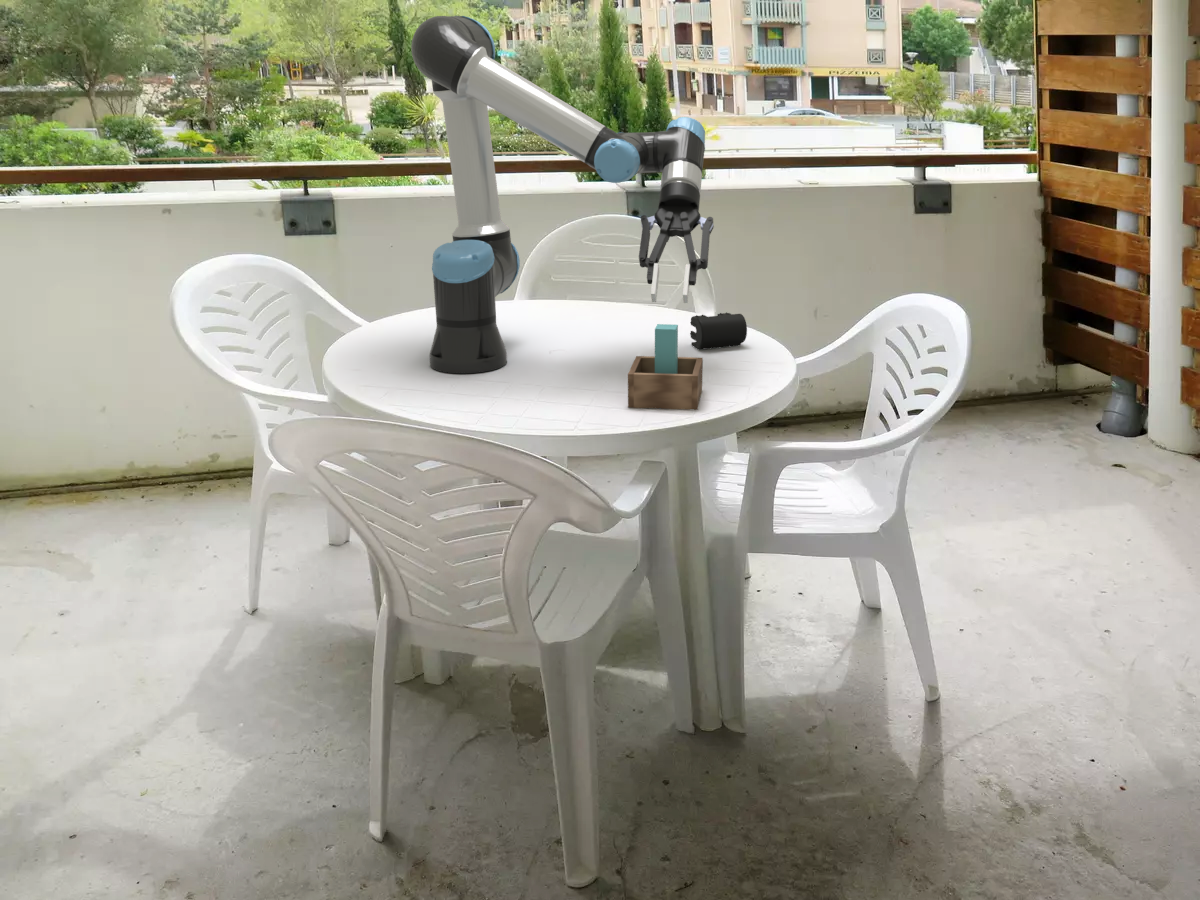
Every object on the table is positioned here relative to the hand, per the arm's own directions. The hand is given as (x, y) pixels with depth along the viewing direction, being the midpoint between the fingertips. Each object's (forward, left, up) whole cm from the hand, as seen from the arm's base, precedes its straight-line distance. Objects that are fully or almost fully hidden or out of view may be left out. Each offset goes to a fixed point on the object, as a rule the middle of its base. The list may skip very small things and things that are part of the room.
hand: (669, 298), depth 208 cm
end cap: (+7, +30, -17) cm, 35 cm away
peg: (0, -7, -17) cm, 18 cm away
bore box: (0, -7, -17) cm, 18 cm away
